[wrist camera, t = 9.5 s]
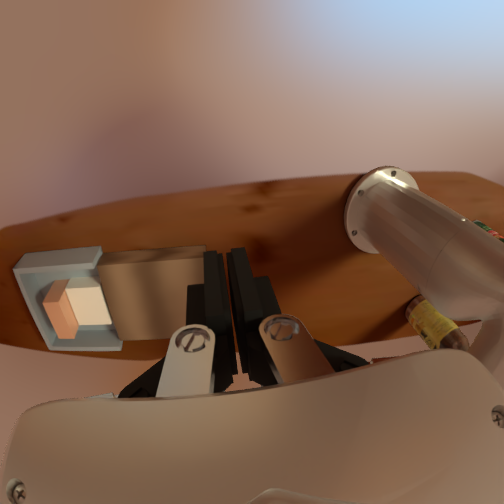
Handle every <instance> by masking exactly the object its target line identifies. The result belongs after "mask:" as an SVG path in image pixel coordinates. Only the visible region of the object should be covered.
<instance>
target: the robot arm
mask: <svg viewBox="0 0 504 504" xmlns="http://www.w3.org/2000/svg"><path fill="white" fill-rule="evenodd" d="M344 225H345V230H346V233H347V235H348V237H349V239H350V240H351V241H352V243H353V244H354V245H355V246H357V247H358V248H359V249H360V250H362V251H364V252H367V253H374V254H377V253H380V254H382V255H383V256H384V257H385V258H386V259H387V260H388V261H389V262H390V263H391V264H392V265H393V266H394V267H395V268H396V269H397V270H398V271H399V272H400V273H401V274H402V275H403V276H404V277H405V278H406V279H407V280H408V281H409V282H410V283H411V284H412V285H413V286H414V287H415V288H416V289H417V290H418V291H419V292H420V293H421V294H422V295H423V296H424V298H425V299H426V300H427V301H428V302H429V303H430V304H431V305H432V306H433V307H434V308H435V309H436V310H437V311H438V312H439V313H440V314H442V315H443V316H445V317H447V318H449V319H452V320H457V321H466V320H476V319H481V320H482V322H483V323H482V328H481V330H480V332H479V333H478V335H477V336H476V338H475V340H474V342H473V343H472V345H471V346H470V347H469V349H468V350H467V351H466V352H465V351H462V350H458V349H431V350H424V351H419V352H414V353H410V354H406V355H403V356H394V357H382V358H372V359H371V361H370V362H367V361H366V360H365V359H363V358H361V357H359V356H356V355H354V354H351V353H348V352H346V351H343V350H340V349H338V348H335V347H333V346H330V345H328V344H325V343H323V342H320V341H318V340H315V339H313V338H312V337H311V335H310V334H309V332H308V331H307V329H306V328H305V326H304V325H303V323H302V322H301V321H300V320H299V319H298V318H296V317H294V316H291V315H288V314H282V313H281V310H280V308H279V305H278V302H277V299H276V297H275V294H274V291H273V288H272V286H271V283H270V280H269V278H268V276H263V277H255V278H253V275H252V271H251V268H250V264H249V261H248V257H247V254H246V250H245V247H243V248H234V249H231V252H230V253H226V255H227V266H228V276H229V286H230V296H231V306H232V313H233V320H234V326H235V332H236V338H237V344H238V350H239V355H240V361H241V367H242V372H243V373H248V375H249V379H250V381H255V382H256V383H258V384H260V385H261V387H259V388H252V389H245V390H237V391H229V392H225V390H226V388H228V387H229V386H230V385H231V384H232V383H233V377H232V375H235V374H238V370H237V361H236V353H235V345H234V336H233V327H232V319H231V311H230V304H229V297H228V291H227V284H226V277H225V270H224V263H223V256H222V253H220V254H217V251H207V252H203V263H204V283H203V284H193V285H188V286H187V303H186V326H184V327H182V328H180V329H178V330H177V331H176V332H175V333H174V334H173V335H172V337H171V340H170V343H169V347H168V351H167V355H166V356H165V357H164V358H162V359H161V360H160V361H159V362H157V363H156V364H155V365H153V366H152V367H151V368H150V369H148V370H147V371H146V372H144V373H143V374H142V375H141V376H139V377H138V378H137V379H135V380H134V381H133V382H131V383H130V384H129V385H127V386H126V387H125V388H124V389H123V390H122V391H121V392H120V394H119V395H114V394H113V393H107V394H102V395H97V396H91V397H86V398H72V399H61V400H55V401H49V402H46V403H42V404H38V405H36V406H33V407H31V408H29V409H27V410H26V411H25V412H24V413H22V414H21V415H20V417H19V418H18V419H17V421H16V423H15V425H14V427H13V429H12V431H11V434H10V436H9V439H8V442H7V445H6V448H5V452H4V456H3V460H2V464H1V468H0V504H504V243H503V242H502V241H500V240H499V239H497V238H496V237H494V236H493V235H491V234H490V233H488V232H487V231H485V230H484V229H482V228H481V227H479V226H477V225H476V224H474V223H473V222H471V221H470V220H468V219H467V218H465V217H463V216H462V215H460V214H458V213H457V212H455V211H454V210H452V209H450V208H449V207H447V206H445V205H443V204H442V203H440V202H438V201H437V200H435V199H433V198H431V197H429V196H428V195H426V194H424V193H422V192H420V191H419V189H418V186H417V184H416V182H415V180H414V179H413V177H412V176H411V175H410V174H409V173H407V172H406V171H404V170H402V169H400V168H397V167H394V166H383V167H378V168H376V169H373V170H371V171H370V172H368V173H367V174H365V175H364V176H363V177H362V178H361V179H360V180H359V181H358V182H357V183H356V185H355V186H354V187H353V189H352V190H351V193H350V195H349V197H348V199H347V202H346V205H345V211H344Z"/></svg>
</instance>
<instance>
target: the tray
mask: <svg viewBox="0 0 504 504" xmlns="http://www.w3.org/2000/svg"><path fill="white" fill-rule="evenodd" d="M101 255H102V249H101V246H95V247H84V248H74V249H63V250H53V251H43V252H33V253H25V254H24V255H23V257H22V258H21V259H20V260H19V262H18V263H17V264H16V265H15V267H14V268H13V271H14V274H15V277H16V279H17V282H18V284H19V287H20V289H21V292H22V294H23V296H24V299H25V301H26V303H27V306H28V308H29V310H30V312H31V314H32V317H33V319H34V321H35V323H36V325H37V327H38V329H39V331H40V333H41V335H42V337H43V339H44V340H45V342H46V344H47V346H48V348H49V350H62V351H121V349H122V343H123V341H120V339H119V336H118V333H117V330H116V327H115V325H114V322H113V321H112V324H103V325H79V327H78V330H77V333H76V336H75V338H74V339H59V338H58V336H57V334H56V332H55V330H54V328H53V325H52V323H51V321H50V319H49V317H48V315H47V312H46V310H45V308H44V305H43V303H42V302H43V301H44V299H45V297H46V295H47V293H48V292H49V290H50V288H51V286H52V285H53V283H54V281H55V280H63V279H70V278H76V277H90V276H99V273H98V269H97V264H98V262H99V260H100V258H101Z"/></svg>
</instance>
